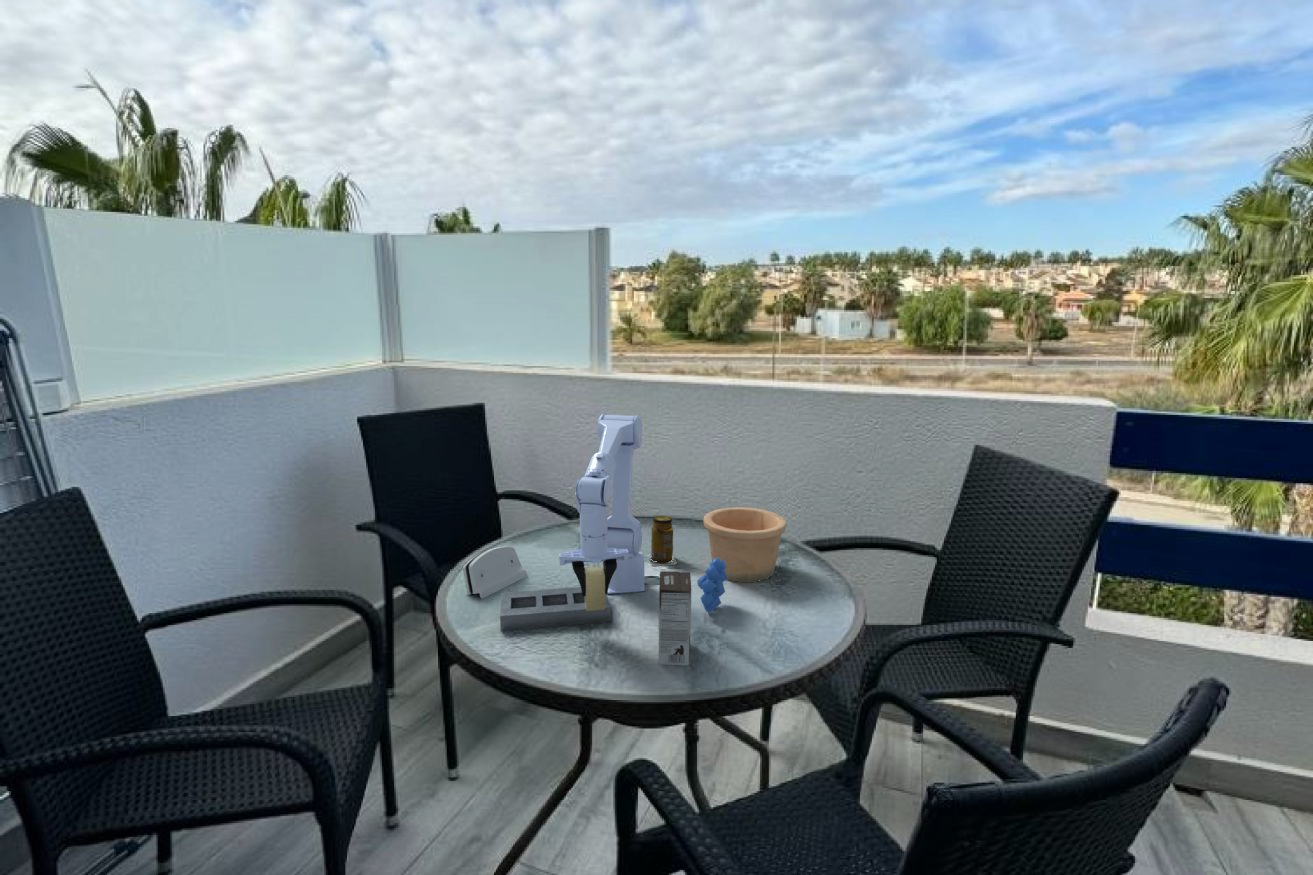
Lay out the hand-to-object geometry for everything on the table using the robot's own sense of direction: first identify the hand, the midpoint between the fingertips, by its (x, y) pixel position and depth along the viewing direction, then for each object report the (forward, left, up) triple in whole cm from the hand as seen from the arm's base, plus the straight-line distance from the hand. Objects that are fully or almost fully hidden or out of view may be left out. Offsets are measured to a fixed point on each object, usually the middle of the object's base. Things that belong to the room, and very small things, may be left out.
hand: (594, 593), depth 140 cm
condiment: (-23, -38, -10) cm, 46 cm away
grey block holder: (+8, -10, -9) cm, 16 cm away
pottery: (-43, -27, -10) cm, 52 cm away
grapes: (-28, -7, -9) cm, 30 cm away
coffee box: (-15, +12, -9) cm, 21 cm away
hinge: (+22, -30, -10) cm, 39 cm away
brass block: (0, 0, -3) cm, 3 cm away
